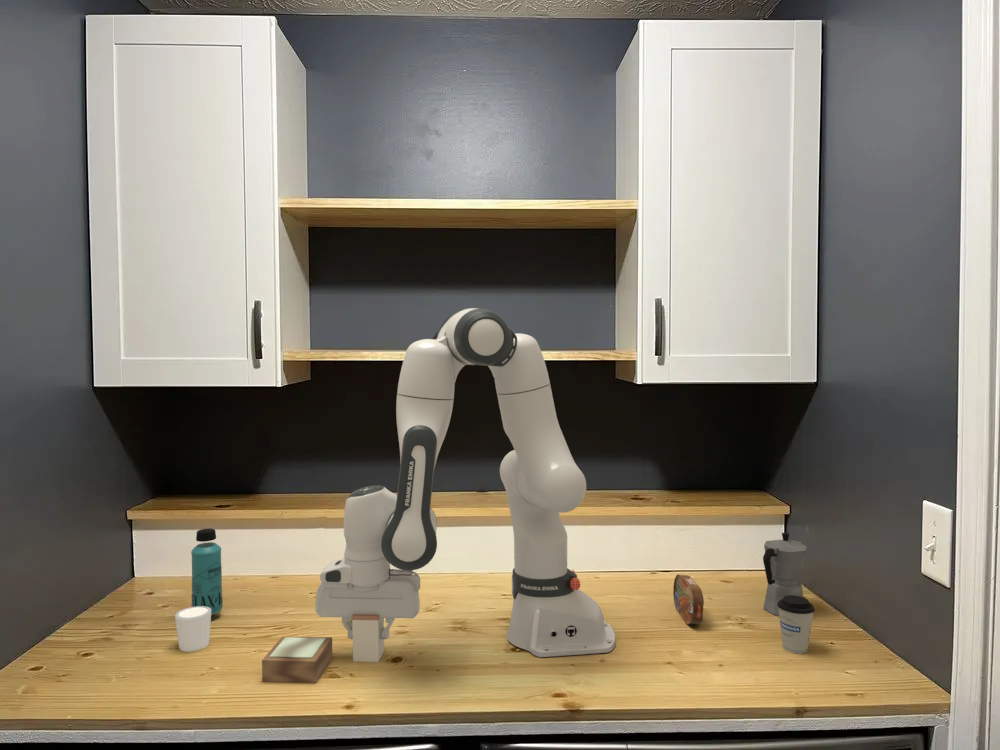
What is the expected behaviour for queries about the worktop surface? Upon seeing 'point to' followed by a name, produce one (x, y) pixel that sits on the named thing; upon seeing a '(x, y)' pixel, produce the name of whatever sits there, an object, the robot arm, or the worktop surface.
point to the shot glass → (193, 628)
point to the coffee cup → (795, 623)
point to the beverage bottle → (207, 572)
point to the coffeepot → (783, 570)
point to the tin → (688, 599)
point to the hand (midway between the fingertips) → (368, 637)
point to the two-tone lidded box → (367, 638)
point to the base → (297, 659)
